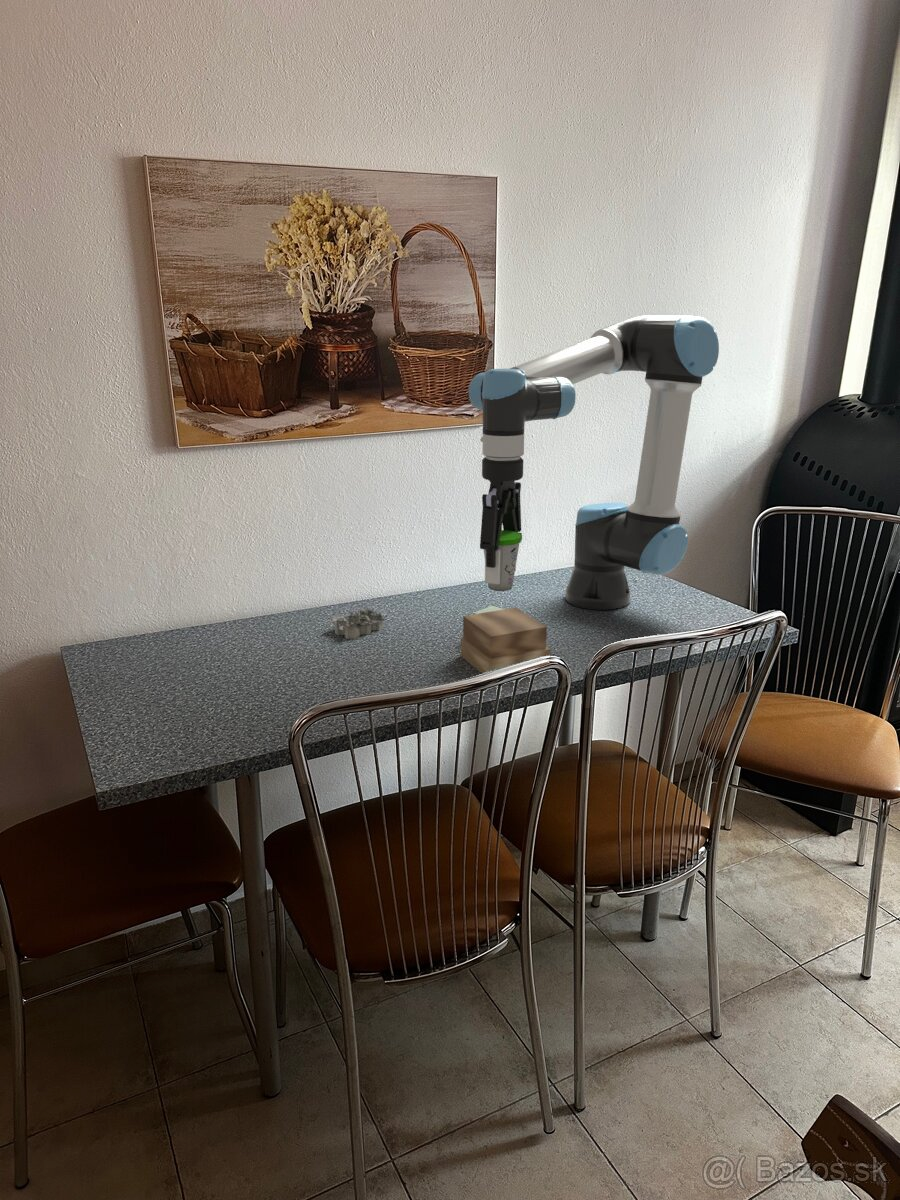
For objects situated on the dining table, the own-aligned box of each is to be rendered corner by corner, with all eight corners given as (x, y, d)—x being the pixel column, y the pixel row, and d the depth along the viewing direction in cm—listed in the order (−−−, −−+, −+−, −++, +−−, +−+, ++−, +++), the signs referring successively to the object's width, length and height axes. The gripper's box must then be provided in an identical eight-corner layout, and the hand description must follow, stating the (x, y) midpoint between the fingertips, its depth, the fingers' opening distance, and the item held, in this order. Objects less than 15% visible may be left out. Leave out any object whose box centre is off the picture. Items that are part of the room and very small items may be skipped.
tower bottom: (516, 647, 179) (517, 627, 177) (549, 670, 168) (550, 649, 166) (460, 658, 173) (460, 637, 172) (490, 682, 162) (490, 660, 161)
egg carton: (349, 642, 181) (349, 624, 180) (329, 633, 186) (328, 615, 185) (389, 629, 188) (388, 611, 187) (368, 620, 193) (367, 603, 192)
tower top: (515, 628, 177) (516, 607, 175) (545, 648, 166) (546, 626, 165) (463, 637, 172) (463, 616, 170) (490, 658, 162) (491, 636, 160)
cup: (509, 596, 159) (511, 517, 154) (472, 589, 163) (473, 512, 158) (527, 585, 166) (529, 508, 161) (491, 578, 170) (492, 504, 165)
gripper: (504, 447, 167) (502, 560, 174) (460, 464, 149) (460, 589, 156) (540, 449, 164) (537, 564, 171) (501, 468, 146) (499, 595, 153)
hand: (500, 576), depth 164 cm, fingers closed on cup, 8 cm apart
